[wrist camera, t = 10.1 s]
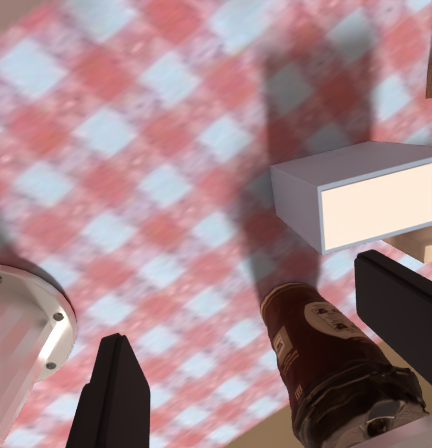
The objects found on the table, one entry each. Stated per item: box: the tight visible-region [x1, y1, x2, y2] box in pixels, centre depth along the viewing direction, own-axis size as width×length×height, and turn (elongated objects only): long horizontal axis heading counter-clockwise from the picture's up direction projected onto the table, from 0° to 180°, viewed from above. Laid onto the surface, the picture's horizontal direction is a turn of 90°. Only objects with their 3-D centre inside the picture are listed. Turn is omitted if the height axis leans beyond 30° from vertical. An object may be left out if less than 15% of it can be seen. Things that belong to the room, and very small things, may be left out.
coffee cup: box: [260, 283, 430, 448], centre depth 22 cm, size 9×8×13 cm
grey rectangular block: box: [269, 141, 432, 256], centre depth 20 cm, size 9×4×8 cm, turn 102°
